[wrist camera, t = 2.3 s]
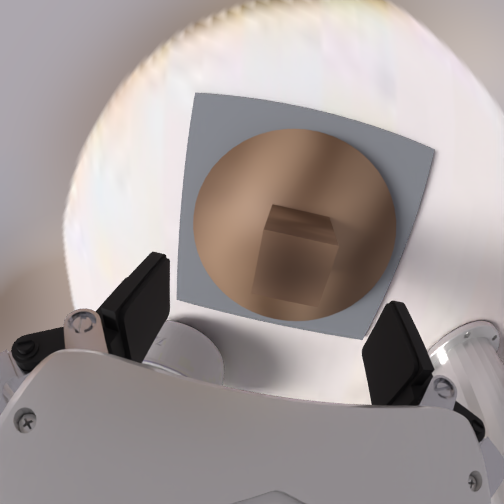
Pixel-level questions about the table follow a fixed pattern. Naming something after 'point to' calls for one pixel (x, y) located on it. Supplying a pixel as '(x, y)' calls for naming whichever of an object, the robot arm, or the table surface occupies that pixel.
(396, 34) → the table surface
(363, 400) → the table surface
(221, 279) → the walnut lid
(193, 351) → the teacup
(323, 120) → the slate mat
